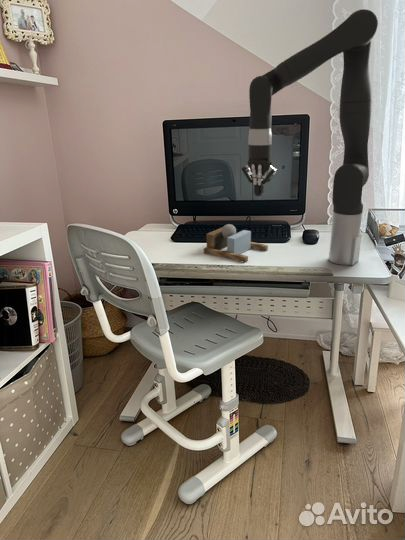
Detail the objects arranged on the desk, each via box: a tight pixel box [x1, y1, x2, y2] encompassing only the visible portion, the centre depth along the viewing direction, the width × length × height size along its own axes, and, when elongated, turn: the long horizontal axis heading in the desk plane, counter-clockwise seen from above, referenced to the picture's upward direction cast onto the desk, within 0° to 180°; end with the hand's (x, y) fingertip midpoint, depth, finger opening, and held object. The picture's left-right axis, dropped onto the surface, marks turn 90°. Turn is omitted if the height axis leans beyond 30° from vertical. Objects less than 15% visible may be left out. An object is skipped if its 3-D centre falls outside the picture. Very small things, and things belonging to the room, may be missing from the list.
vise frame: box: [203, 226, 269, 263], centre depth 158 cm, size 18×16×7 cm
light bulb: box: [221, 223, 237, 241], centre depth 159 cm, size 6×6×10 cm
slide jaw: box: [226, 229, 252, 255], centre depth 157 cm, size 3×12×7 cm, turn 144°
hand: (258, 195), depth 146 cm, fingers closed
